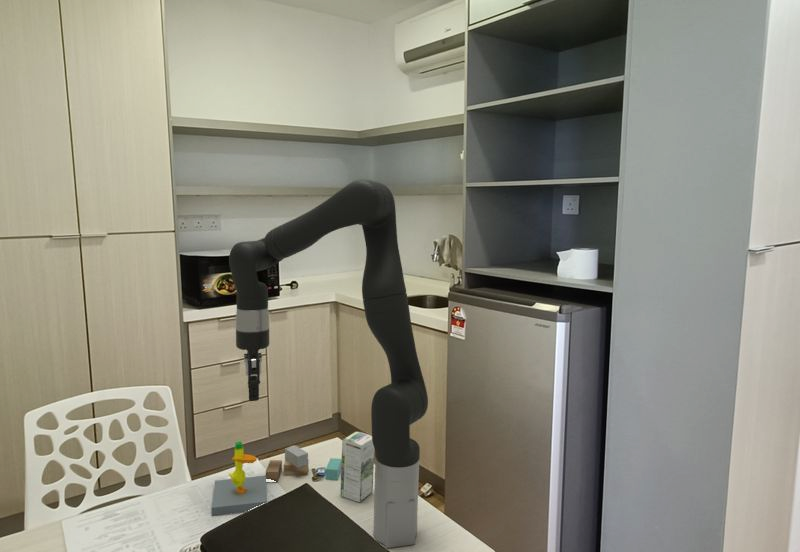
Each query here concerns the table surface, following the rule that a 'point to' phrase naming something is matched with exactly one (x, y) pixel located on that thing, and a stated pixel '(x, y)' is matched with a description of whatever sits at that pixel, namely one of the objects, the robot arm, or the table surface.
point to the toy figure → (240, 467)
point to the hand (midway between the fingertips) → (253, 394)
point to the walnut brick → (274, 470)
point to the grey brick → (296, 456)
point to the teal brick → (333, 469)
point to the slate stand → (238, 496)
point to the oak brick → (294, 469)
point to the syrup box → (357, 466)
